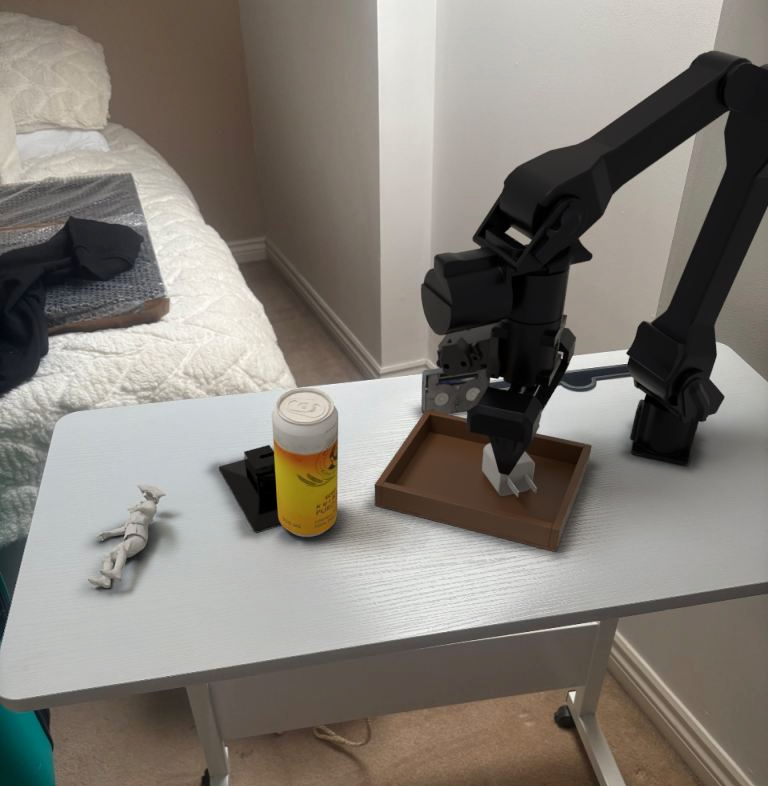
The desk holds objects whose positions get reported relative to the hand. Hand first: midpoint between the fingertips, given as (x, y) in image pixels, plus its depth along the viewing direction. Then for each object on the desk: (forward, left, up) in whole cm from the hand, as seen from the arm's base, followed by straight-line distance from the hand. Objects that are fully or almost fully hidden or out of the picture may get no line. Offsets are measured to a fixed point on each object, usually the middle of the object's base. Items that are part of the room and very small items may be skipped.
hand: (516, 449), depth 87 cm
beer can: (+18, +13, -5) cm, 23 cm away
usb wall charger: (0, 0, -5) cm, 5 cm away
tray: (+3, 0, -6) cm, 6 cm away
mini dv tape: (+11, -13, -6) cm, 18 cm away
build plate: (+25, +10, -6) cm, 27 cm away
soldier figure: (+33, +24, -6) cm, 41 cm away
